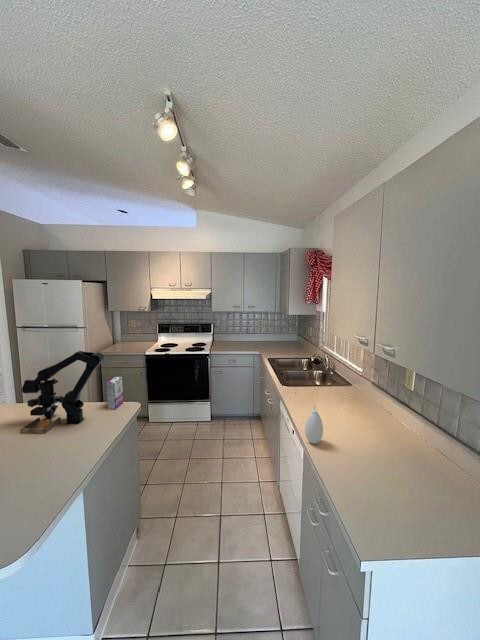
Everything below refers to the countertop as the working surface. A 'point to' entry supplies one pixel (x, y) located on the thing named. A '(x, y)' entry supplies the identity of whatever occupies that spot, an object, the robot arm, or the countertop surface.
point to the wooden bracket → (39, 430)
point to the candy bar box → (115, 392)
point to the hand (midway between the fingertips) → (49, 421)
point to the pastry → (43, 423)
